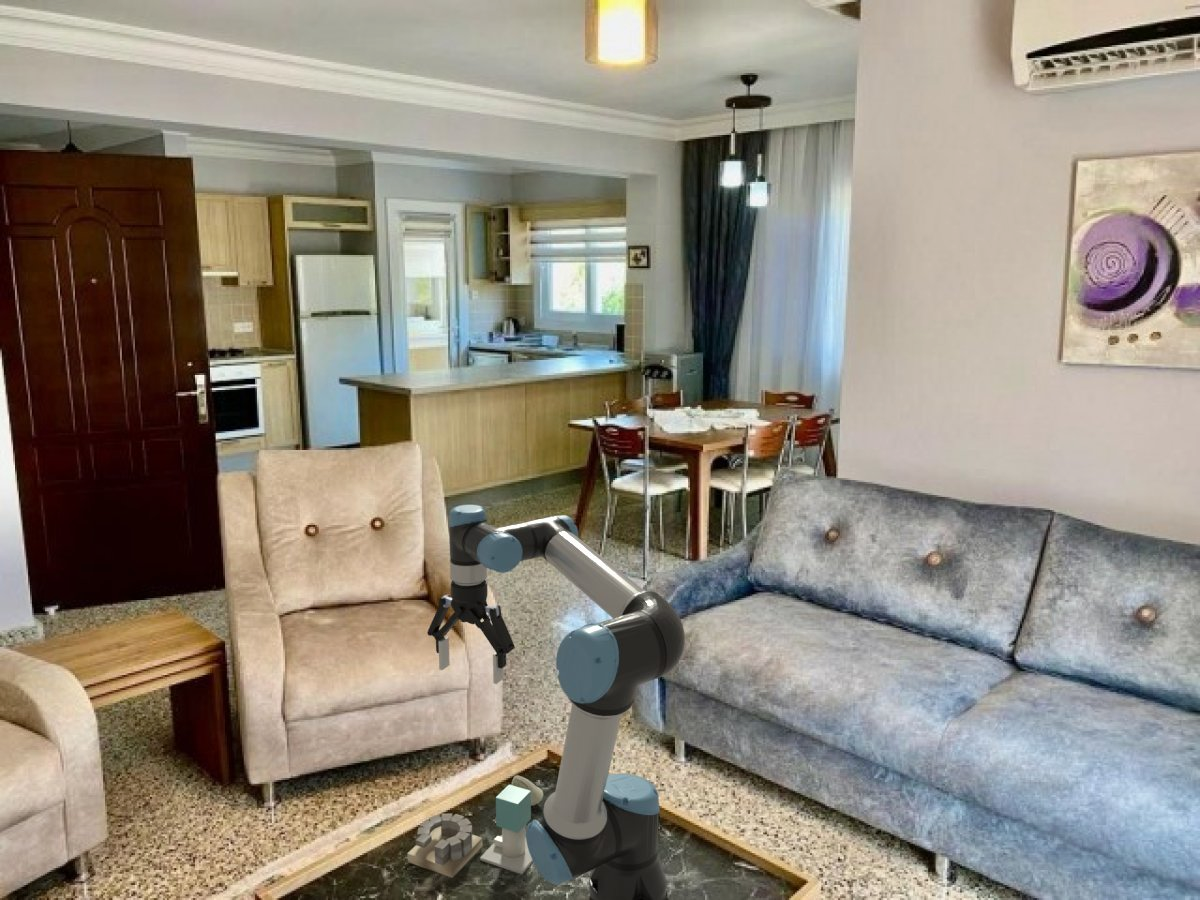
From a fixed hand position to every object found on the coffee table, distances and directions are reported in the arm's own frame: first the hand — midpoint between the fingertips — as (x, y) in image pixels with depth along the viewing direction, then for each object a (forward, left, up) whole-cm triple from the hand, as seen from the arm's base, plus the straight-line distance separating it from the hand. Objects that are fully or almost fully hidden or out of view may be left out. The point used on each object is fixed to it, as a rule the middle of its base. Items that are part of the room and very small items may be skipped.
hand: (471, 674), depth 193 cm
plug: (-13, +6, -34) cm, 37 cm away
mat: (-13, +6, -35) cm, 38 cm away
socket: (-1, +12, -35) cm, 37 cm away
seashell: (-7, -10, -35) cm, 37 cm away
